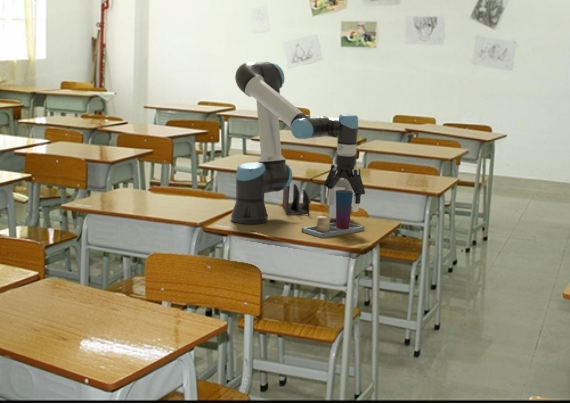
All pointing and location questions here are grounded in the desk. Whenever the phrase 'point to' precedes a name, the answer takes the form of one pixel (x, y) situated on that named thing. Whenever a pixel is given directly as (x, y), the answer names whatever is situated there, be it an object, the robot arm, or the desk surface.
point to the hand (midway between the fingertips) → (342, 208)
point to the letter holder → (295, 202)
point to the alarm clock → (341, 185)
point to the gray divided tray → (332, 230)
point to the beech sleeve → (323, 224)
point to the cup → (343, 208)
